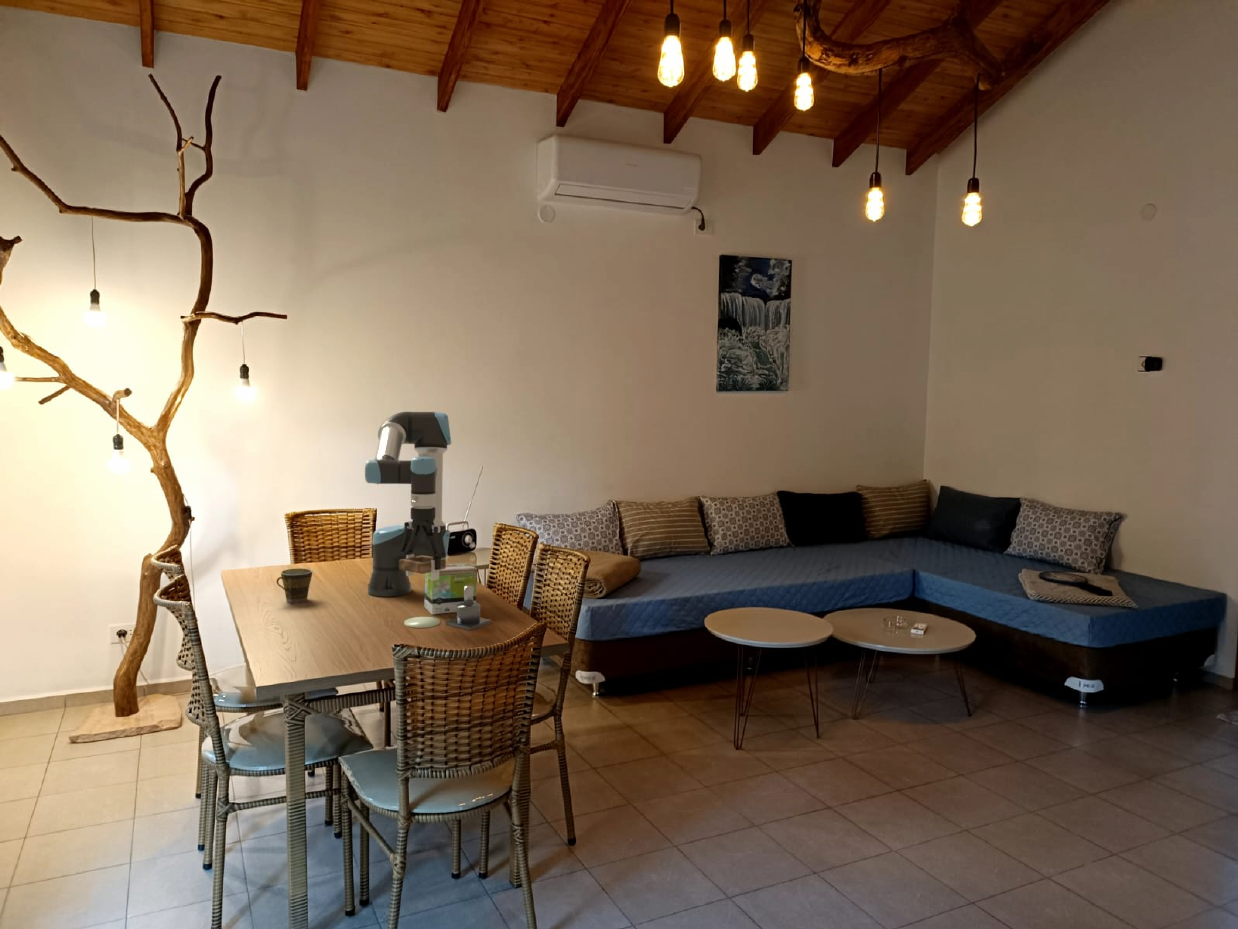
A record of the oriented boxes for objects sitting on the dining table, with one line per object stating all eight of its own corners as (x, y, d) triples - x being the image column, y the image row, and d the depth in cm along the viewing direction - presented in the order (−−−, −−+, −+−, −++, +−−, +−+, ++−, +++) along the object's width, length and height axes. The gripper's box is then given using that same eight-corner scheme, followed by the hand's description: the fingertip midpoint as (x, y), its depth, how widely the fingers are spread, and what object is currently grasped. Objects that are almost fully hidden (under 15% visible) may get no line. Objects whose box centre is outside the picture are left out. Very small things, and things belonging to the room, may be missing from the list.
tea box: (432, 615, 280) (432, 570, 278) (424, 608, 288) (424, 564, 287) (476, 611, 286) (477, 567, 285) (467, 604, 295) (468, 561, 294)
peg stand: (445, 624, 270) (445, 587, 269) (467, 617, 278) (467, 581, 277) (469, 630, 265) (470, 592, 263) (490, 623, 273) (491, 585, 272)
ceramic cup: (298, 595, 300) (298, 567, 299) (318, 599, 295) (318, 571, 294) (267, 603, 288) (266, 573, 287) (287, 607, 283) (287, 578, 282)
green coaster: (396, 623, 269) (396, 622, 269) (422, 616, 278) (422, 614, 278) (422, 630, 263) (422, 628, 263) (447, 622, 273) (447, 620, 273)
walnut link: (399, 569, 267) (399, 559, 267) (422, 564, 276) (422, 555, 276) (422, 573, 262) (422, 564, 262) (445, 568, 271) (445, 559, 270)
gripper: (388, 504, 270) (387, 574, 272) (441, 511, 258) (440, 584, 260) (405, 502, 276) (405, 570, 278) (458, 509, 265) (457, 580, 267)
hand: (422, 577), depth 269 cm, fingers closed on walnut link, 10 cm apart
